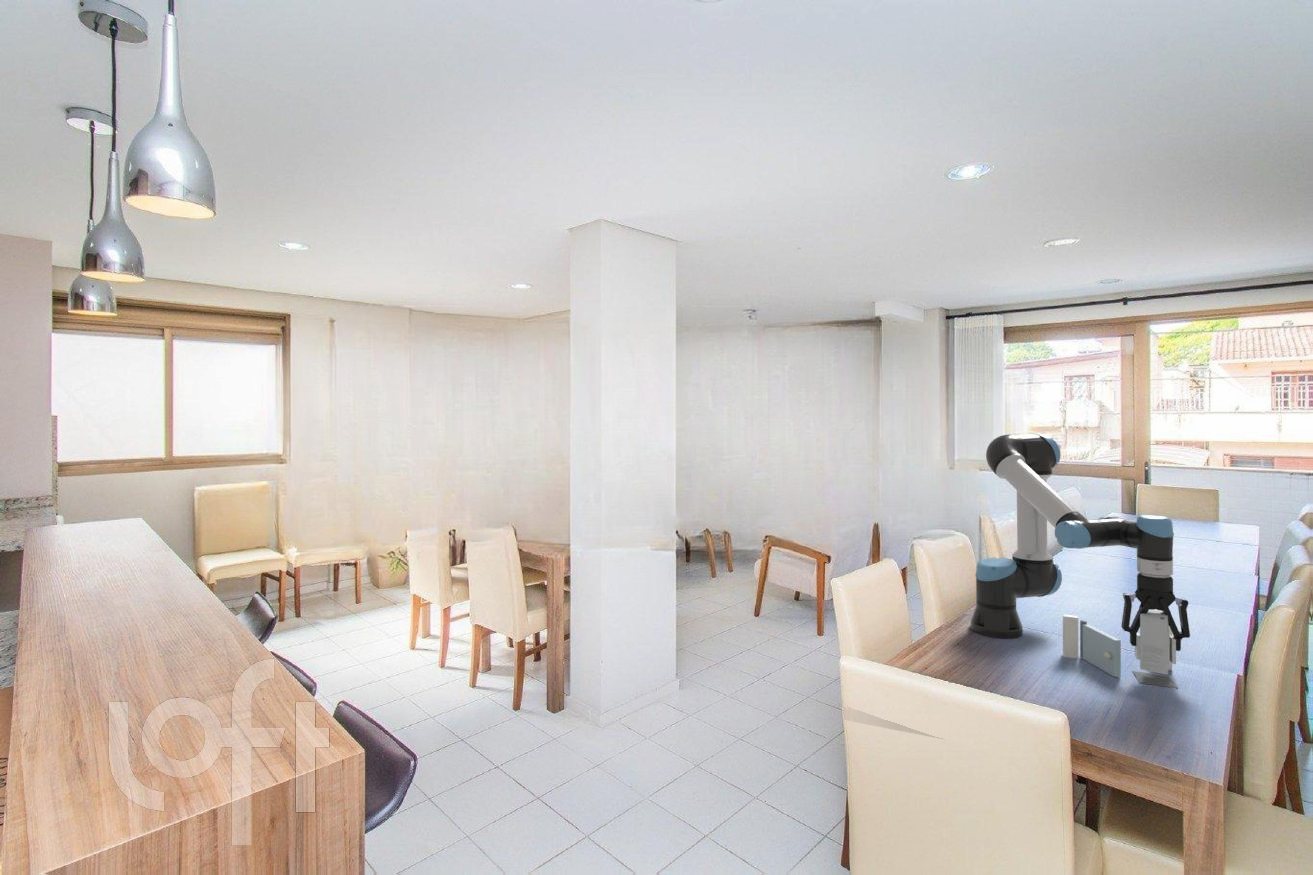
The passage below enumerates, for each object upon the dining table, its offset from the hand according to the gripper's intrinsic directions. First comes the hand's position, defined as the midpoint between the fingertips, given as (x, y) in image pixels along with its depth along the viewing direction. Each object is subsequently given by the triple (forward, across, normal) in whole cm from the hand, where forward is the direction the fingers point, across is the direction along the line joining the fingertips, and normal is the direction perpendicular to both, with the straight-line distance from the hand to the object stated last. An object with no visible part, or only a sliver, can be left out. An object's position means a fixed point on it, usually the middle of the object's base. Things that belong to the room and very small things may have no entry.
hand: (1154, 659), depth 166 cm
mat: (+6, 0, 0) cm, 6 cm away
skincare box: (+2, 0, 0) cm, 2 cm away
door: (+5, -12, +4) cm, 14 cm away
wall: (+5, -7, +10) cm, 13 cm away
